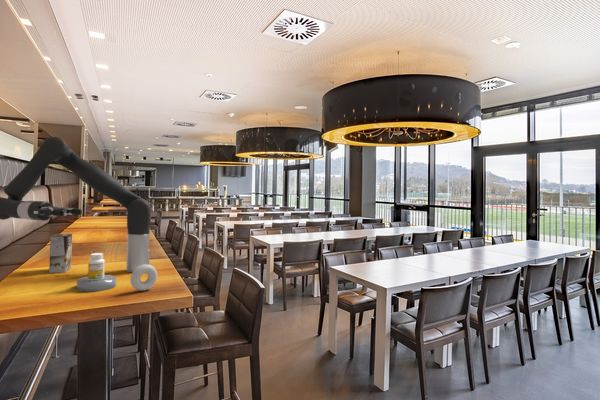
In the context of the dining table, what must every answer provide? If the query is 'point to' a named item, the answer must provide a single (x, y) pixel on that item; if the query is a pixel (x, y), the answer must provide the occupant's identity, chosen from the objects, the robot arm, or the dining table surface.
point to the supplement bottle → (96, 267)
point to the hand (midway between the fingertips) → (72, 212)
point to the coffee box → (60, 253)
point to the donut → (137, 274)
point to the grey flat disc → (96, 284)
